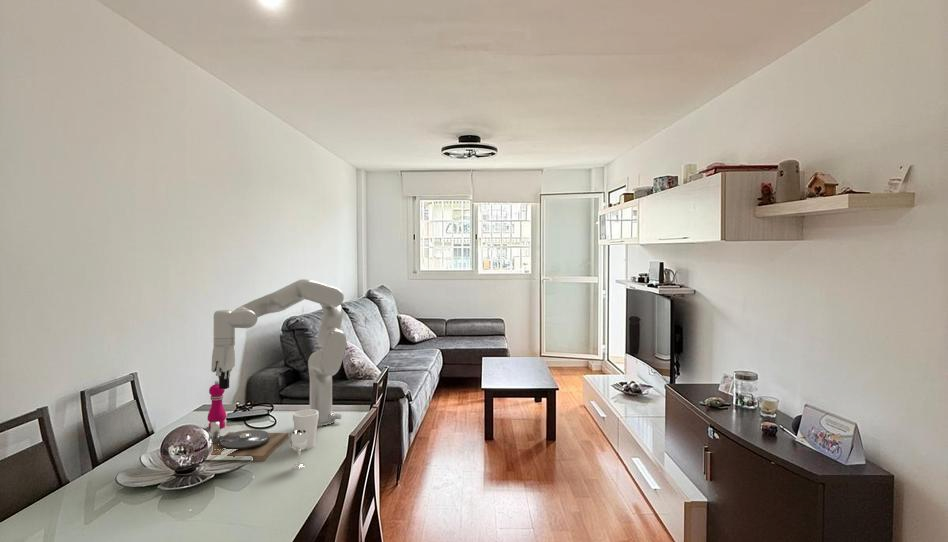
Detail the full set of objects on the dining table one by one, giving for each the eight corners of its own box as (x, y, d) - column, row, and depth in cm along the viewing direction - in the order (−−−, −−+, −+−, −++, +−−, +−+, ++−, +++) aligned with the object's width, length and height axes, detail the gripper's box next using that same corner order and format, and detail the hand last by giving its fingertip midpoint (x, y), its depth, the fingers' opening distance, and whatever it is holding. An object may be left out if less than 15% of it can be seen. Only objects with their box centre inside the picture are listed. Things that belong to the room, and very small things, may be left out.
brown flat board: (288, 437, 206) (288, 432, 206) (263, 461, 182) (263, 455, 182) (224, 437, 206) (224, 431, 206) (191, 460, 182) (191, 454, 182)
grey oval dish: (276, 433, 203) (276, 416, 203) (258, 449, 186) (258, 430, 186) (222, 433, 203) (222, 415, 203) (199, 449, 186) (199, 429, 186)
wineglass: (286, 467, 177) (286, 433, 177) (299, 461, 182) (299, 428, 182) (298, 470, 174) (298, 435, 174) (311, 464, 180) (311, 430, 179)
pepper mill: (220, 430, 215) (221, 382, 214) (203, 429, 215) (203, 382, 215) (229, 424, 222) (229, 378, 222) (213, 424, 222) (213, 378, 222)
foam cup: (287, 449, 194) (287, 415, 194) (301, 441, 203) (301, 408, 203) (310, 451, 192) (310, 417, 191) (323, 443, 201) (323, 410, 200)
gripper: (224, 338, 208) (224, 383, 209) (204, 344, 193) (204, 393, 194) (242, 339, 208) (242, 383, 209) (224, 345, 193) (224, 393, 194)
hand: (224, 388), depth 201 cm, fingers closed
